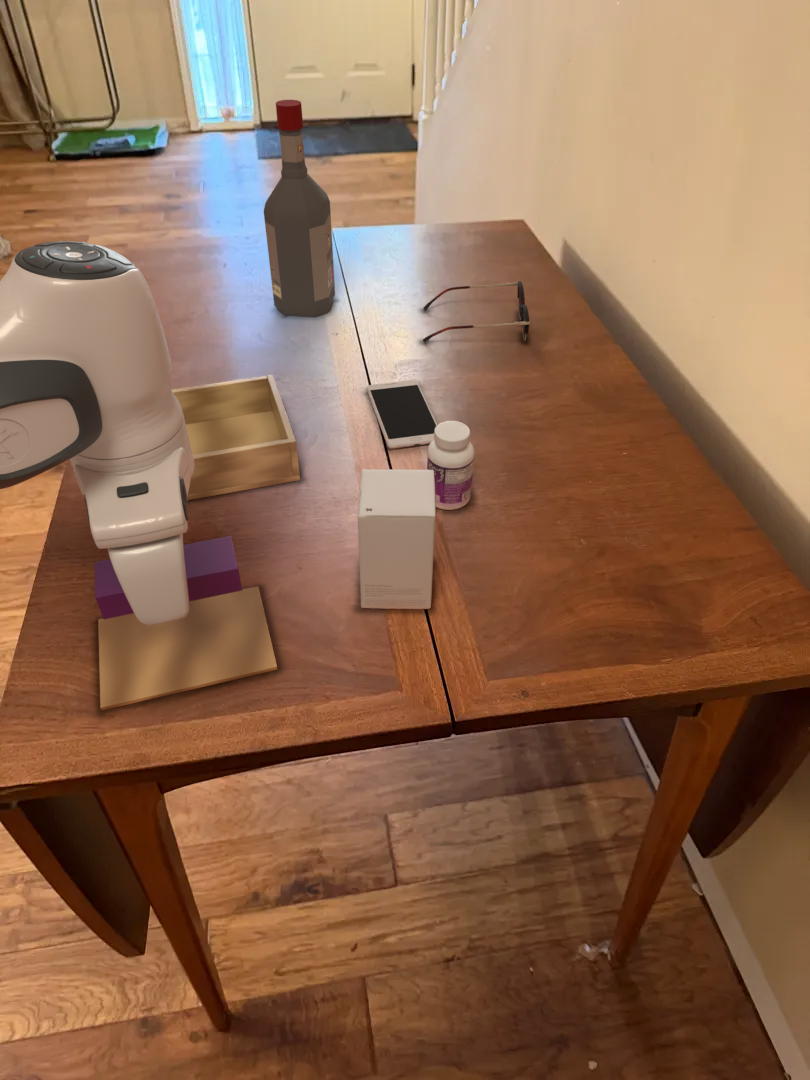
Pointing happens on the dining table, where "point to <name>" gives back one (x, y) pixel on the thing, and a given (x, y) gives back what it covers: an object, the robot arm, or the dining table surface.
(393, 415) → the smartphone
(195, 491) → the open wooden box
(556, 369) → the dining table surface
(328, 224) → the liquor
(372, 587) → the white packaging box
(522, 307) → the sunglasses
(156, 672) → the wooden board
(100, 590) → the purple rectangular block
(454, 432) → the pill bottle
